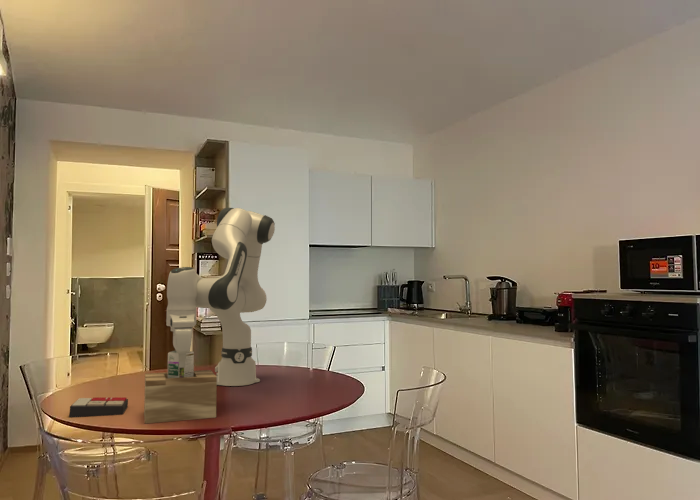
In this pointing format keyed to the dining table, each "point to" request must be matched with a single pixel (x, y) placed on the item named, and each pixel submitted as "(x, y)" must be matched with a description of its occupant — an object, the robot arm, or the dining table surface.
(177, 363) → the syrup box
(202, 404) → the posting box
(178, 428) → the dining table surface
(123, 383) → the dining table surface
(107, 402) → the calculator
